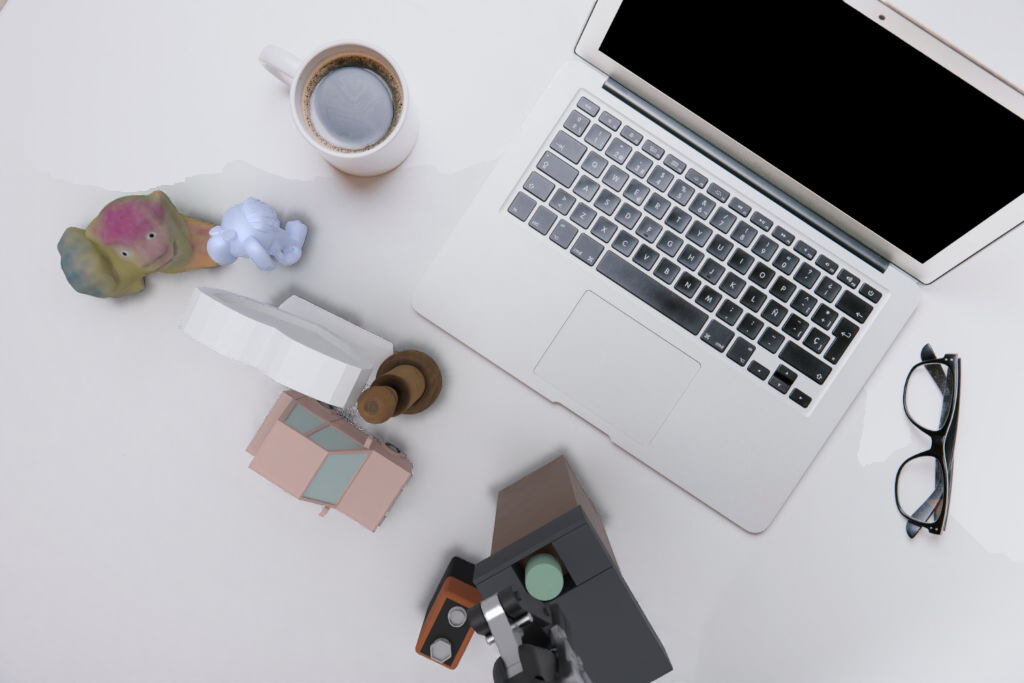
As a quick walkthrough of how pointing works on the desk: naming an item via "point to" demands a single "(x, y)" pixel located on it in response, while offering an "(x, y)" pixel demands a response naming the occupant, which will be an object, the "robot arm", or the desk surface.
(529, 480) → the dark grey tall block
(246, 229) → the toy figurine
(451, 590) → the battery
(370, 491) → the toy car
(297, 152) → the desk surface
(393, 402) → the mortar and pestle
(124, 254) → the sculpture
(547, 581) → the tare button
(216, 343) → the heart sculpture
